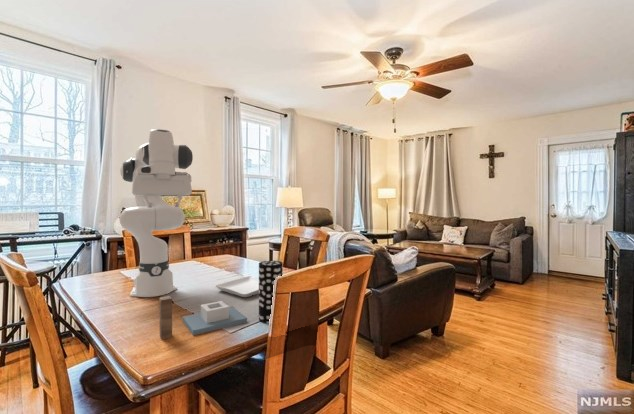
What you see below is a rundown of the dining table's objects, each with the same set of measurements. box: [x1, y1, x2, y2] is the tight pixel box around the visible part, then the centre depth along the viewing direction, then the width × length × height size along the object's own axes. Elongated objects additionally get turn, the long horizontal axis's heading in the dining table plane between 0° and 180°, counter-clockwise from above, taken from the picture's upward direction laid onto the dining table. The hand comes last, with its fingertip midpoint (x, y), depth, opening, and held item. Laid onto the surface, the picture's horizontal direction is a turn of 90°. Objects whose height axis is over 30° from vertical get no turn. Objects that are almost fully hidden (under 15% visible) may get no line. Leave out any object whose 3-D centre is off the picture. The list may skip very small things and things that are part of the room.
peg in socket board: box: [182, 300, 248, 336], centre depth 108 cm, size 14×18×6 cm
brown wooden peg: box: [158, 295, 173, 340], centre depth 96 cm, size 3×3×12 cm
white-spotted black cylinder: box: [258, 260, 284, 324], centre depth 110 cm, size 8×8×20 cm
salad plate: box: [215, 275, 259, 298], centre depth 144 cm, size 21×21×3 cm
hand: (163, 207), depth 117 cm, fingers open, 8 cm apart
